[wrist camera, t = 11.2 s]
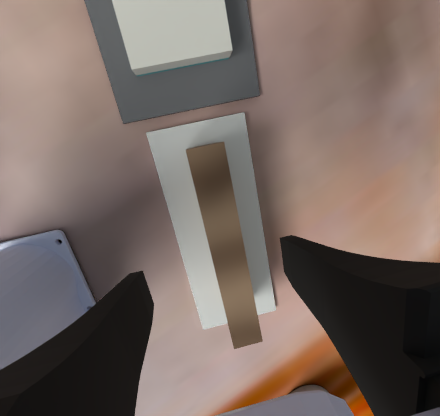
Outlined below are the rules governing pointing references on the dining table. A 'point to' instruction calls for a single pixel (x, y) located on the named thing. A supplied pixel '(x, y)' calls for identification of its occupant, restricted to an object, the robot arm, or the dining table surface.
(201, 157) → the bar
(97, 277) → the dining table surface
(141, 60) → the tile
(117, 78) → the mat
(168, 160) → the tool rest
